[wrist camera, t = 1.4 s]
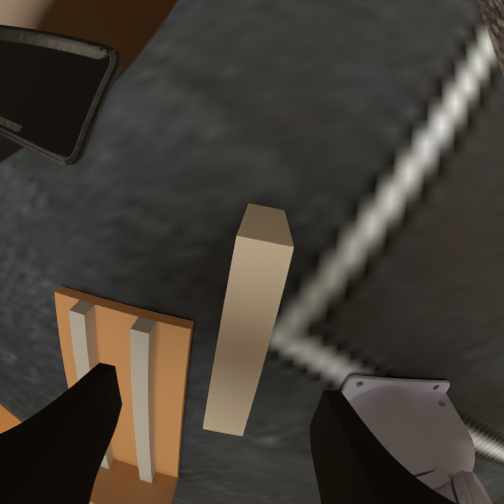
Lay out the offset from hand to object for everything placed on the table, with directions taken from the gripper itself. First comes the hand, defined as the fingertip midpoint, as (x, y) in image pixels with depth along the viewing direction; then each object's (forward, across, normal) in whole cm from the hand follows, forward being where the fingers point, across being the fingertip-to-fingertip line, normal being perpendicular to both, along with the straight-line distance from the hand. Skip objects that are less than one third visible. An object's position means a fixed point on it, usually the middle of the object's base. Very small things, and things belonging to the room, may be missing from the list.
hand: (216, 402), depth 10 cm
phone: (+12, +16, -12) cm, 23 cm away
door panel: (+10, -1, 0) cm, 10 cm away
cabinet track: (+9, +8, +13) cm, 18 cm away
